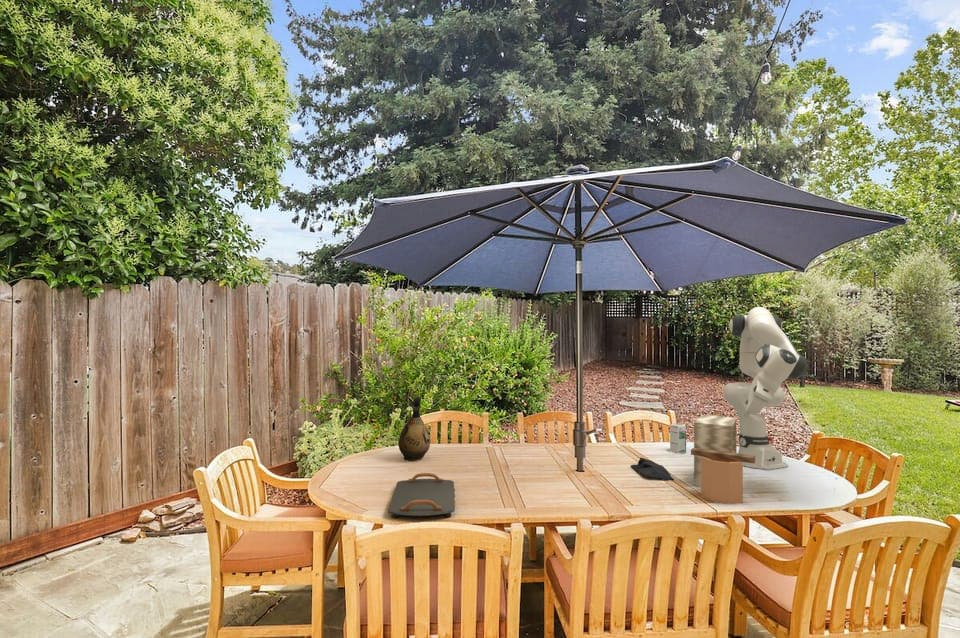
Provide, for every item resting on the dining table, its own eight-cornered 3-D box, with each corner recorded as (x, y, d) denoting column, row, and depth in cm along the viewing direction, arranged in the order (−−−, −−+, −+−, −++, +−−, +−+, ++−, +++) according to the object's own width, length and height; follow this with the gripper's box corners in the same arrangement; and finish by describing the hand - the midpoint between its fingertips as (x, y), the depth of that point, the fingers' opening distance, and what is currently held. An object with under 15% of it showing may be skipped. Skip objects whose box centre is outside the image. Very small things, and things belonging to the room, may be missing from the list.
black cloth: (640, 481, 210) (640, 469, 211) (629, 466, 232) (629, 456, 232) (677, 482, 209) (677, 471, 209) (662, 467, 231) (663, 457, 231)
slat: (755, 461, 186) (755, 455, 186) (754, 463, 182) (754, 458, 183) (692, 452, 198) (692, 447, 198) (690, 454, 194) (690, 449, 194)
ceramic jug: (428, 463, 233) (428, 399, 233) (395, 462, 233) (396, 399, 233) (432, 454, 250) (432, 394, 250) (401, 453, 250) (402, 394, 250)
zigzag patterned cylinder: (736, 477, 215) (736, 417, 215) (731, 491, 196) (732, 426, 196) (701, 472, 222) (701, 414, 222) (693, 485, 203) (694, 422, 204)
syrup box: (678, 454, 254) (678, 425, 254) (669, 451, 259) (669, 423, 260) (686, 452, 257) (686, 425, 257) (677, 450, 262) (677, 423, 262)
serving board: (397, 485, 201) (397, 470, 201) (454, 485, 202) (454, 470, 203) (385, 523, 162) (385, 504, 163) (455, 522, 164) (455, 503, 164)
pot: (724, 489, 198) (724, 452, 199) (751, 501, 185) (751, 461, 185) (694, 492, 195) (694, 454, 195) (719, 504, 181) (719, 463, 182)
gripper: (758, 369, 206) (740, 393, 214) (755, 393, 190) (736, 418, 198) (773, 376, 204) (755, 400, 212) (771, 402, 188) (751, 426, 196)
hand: (746, 409), depth 204 cm, fingers open, 8 cm apart
